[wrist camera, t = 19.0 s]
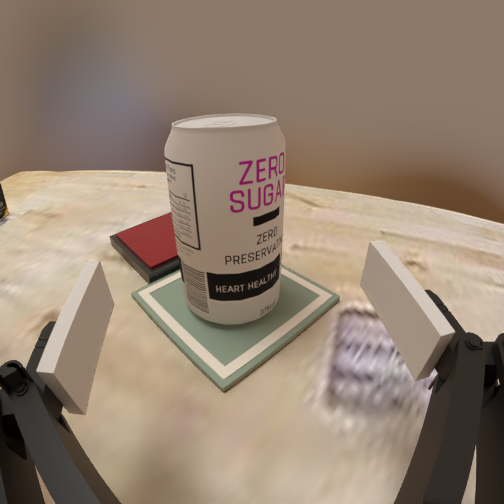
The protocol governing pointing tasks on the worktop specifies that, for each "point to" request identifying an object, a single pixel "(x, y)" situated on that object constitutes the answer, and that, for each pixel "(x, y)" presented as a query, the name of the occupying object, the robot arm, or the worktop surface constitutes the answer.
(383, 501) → the worktop surface
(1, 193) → the medicine bottle
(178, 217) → the supplement can
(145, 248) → the ink pad
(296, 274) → the mat
